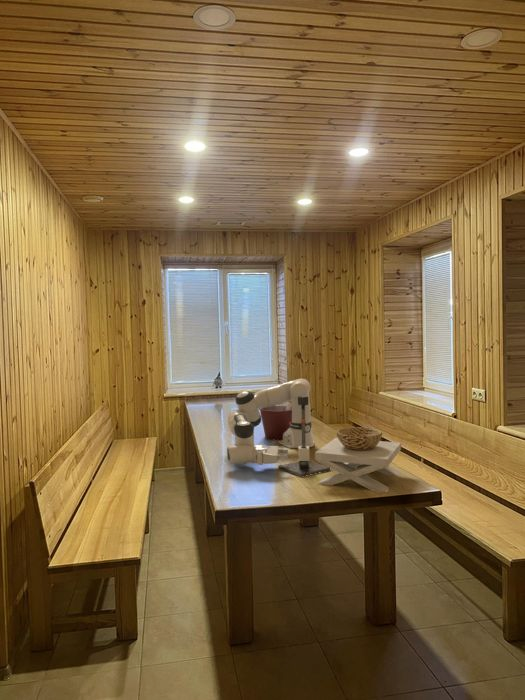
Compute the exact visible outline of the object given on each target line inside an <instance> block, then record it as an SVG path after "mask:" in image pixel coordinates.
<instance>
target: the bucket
mask: <svg viewBox="0 0 525 700" xmlns="http://www.w3.org/2000/svg"><path fill="white" fill-rule="evenodd" d="M258 409H259V413H260V415H261V423H262V427H263V433H264V437H265V439H266V440H270V441H281V440H283V434H284V432H286V431H287V430H288V429H289V428H290V423H289V422H292V407H291V406H289V405H275V406H271V407H267V408H258Z"/></svg>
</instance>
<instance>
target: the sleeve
mask: <svg viewBox="0 0 525 700" xmlns="http://www.w3.org/2000/svg"><path fill="white" fill-rule="evenodd" d="M297 449H298V462H299V461H310V447H309V446H306V448H302V446H298V448H297Z"/></svg>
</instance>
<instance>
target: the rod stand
mask: <svg viewBox="0 0 525 700" xmlns="http://www.w3.org/2000/svg"><path fill="white" fill-rule="evenodd" d="M298 405H301V418H302V419H301V423H302V448H306V441H305V423H306V419H305V405H308V397H307V396H299V397H298ZM277 467H278V469H279V470H280V471H284V472H287V473H289V474H292V475H294V476H296V475H297V477H299V476H300V477H299V478H303V477H302V476H304V477H307V476H306V475H309V476H311V475H310V474H313V475H316V474H315V473H317V474H320V473H319V472H322V473H325V472H324V471H326V472H329V470H330V471H331V468H329V467H328V466H326V465H324V464H322V463H321V464H320V463H317V462H314V461H311V460H309V461H299V460H298V461H294V462H289V463H284V464H279V465H278V466H277Z"/></svg>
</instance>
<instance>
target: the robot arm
mask: <svg viewBox="0 0 525 700" xmlns="http://www.w3.org/2000/svg"><path fill="white" fill-rule="evenodd" d="M311 388H312V387H311V383H310V381H308V379H305V378H297V379H295V380H290V381H287V382H284V383H281V384H278V385H275V386H271V387H267V388H264V389H260V390H259V391H256V392H251V391H248V390H244V391H241V392H239V393H238V394H237V395H236V396H235V404H236V406H237V409H234V410H232V411H230V412H229V414H228V416H227V425H228V429H229V431H230V433H231V434H232V435H233V436H234V444H233V445H228V446H227V449H226V454H227V455H226V456H227V461H229V463H233V464H249V463H250V464H256V465H259V466H262V465H263V464H264V465H269V464H276V463H279V460H280V461H281V460H286V459H288V458H289V457H288V454H289V451H288V449H284V448H279V447H280V446H279V445H280V444H281V445H282V446H285V447H287V448H289V449H298V446H302V423H301V419H302V418H301V405H298V397H299V396H307V397H308V405H305V419H306V423H305V441H306V446H309V448H312V447H314V445H315V441H314V436H313V430H312V421H311V416H312V415H311V414H312V413H311V397H310V396H311ZM288 402H290V405H291V406H290V407H292V422H289V423H290V428H289V429H288V430H287V431H286V432H284V434H283V440H278V444H279V445H268V446H264V445H263V444H255V435H254V434H255V432H254V431H255V428H256V427H257V426H259V425H260V424H261V423H262V418H261V413H260V410H259V408H267V407H271V406H280V405H282V404H286V403H288Z"/></svg>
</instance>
